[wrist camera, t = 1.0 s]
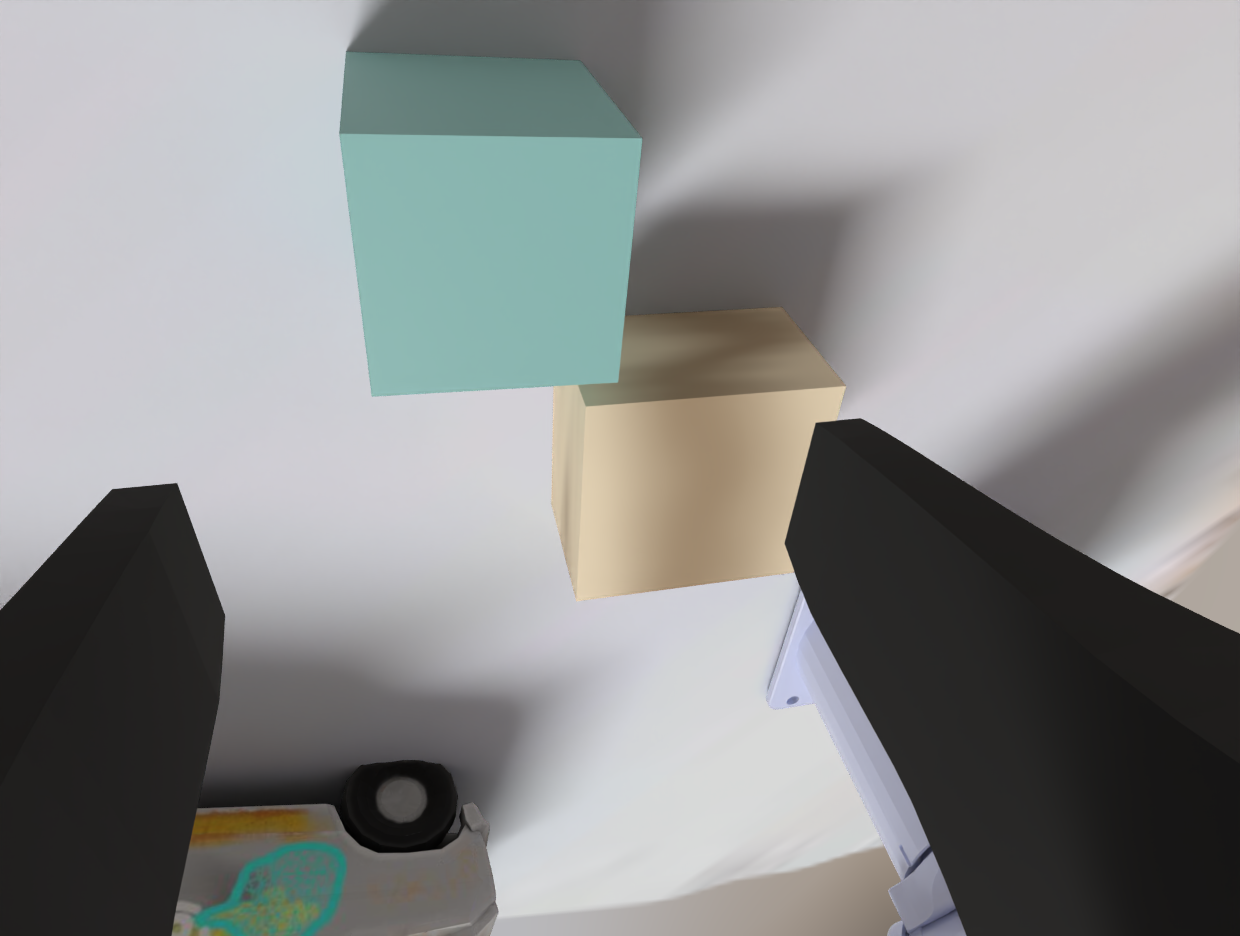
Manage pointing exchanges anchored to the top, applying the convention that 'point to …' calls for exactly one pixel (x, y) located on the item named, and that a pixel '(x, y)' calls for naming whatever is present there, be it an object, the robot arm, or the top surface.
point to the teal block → (487, 220)
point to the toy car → (343, 863)
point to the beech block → (688, 452)
